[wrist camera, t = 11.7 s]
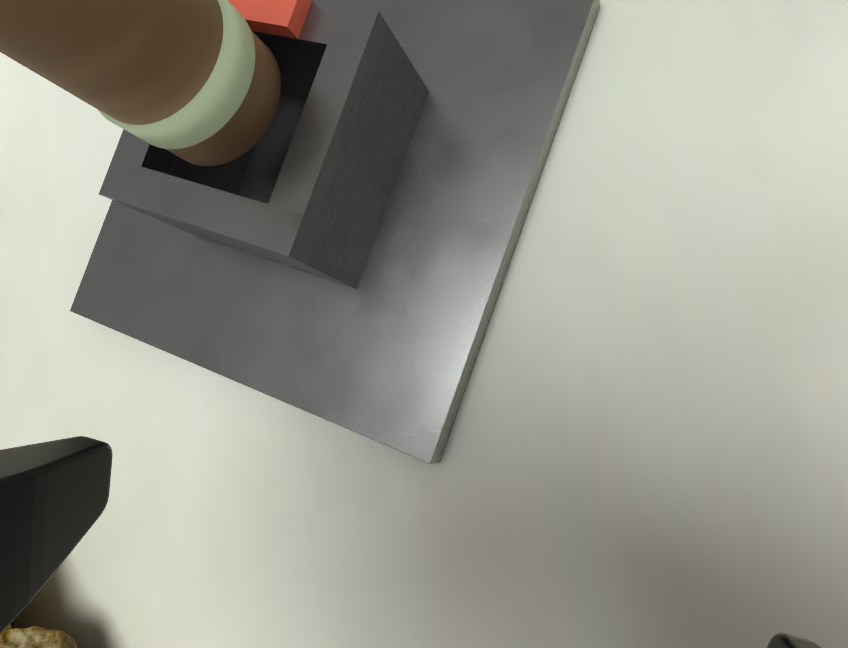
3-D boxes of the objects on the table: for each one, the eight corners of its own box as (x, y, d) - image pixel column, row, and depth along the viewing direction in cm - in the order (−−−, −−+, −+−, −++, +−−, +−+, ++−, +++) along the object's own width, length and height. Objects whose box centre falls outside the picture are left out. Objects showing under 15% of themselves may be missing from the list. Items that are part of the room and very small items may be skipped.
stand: (439, 461, 21) (363, 475, 15) (90, 314, 26) (-62, 283, 21) (600, 6, 21) (585, -147, 16) (225, -43, 27) (114, -170, 21)
